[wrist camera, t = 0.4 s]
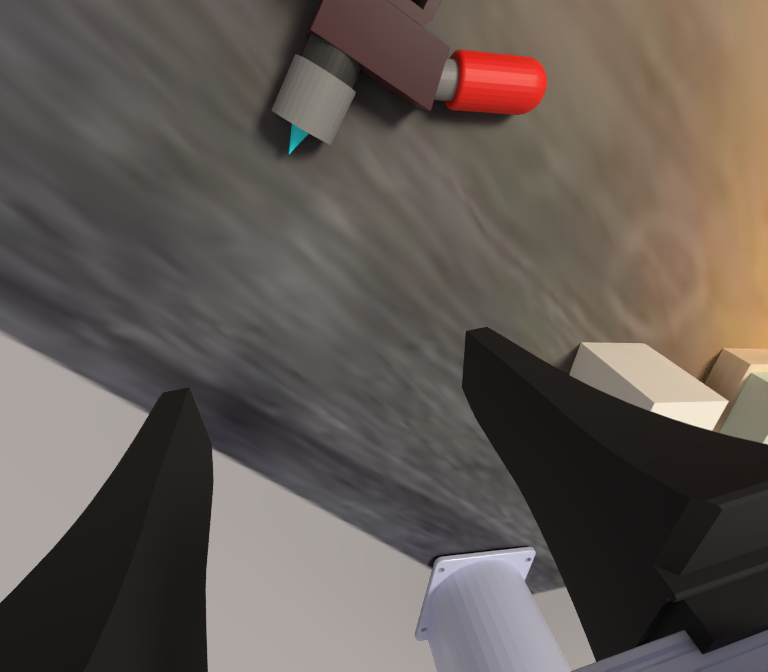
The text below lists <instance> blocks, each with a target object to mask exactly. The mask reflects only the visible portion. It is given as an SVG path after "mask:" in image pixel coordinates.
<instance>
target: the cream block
mask: <svg viewBox="0 0 768 672" xmlns="http://www.w3.org/2000/svg"><path fill="white" fill-rule="evenodd" d="M569 375H570V376H572V377H574V378H576V379H578V380H580V381H582V382H584V383H586V384H588V385H590V386H592V387H594V388H596V389H598V390H600V391H602V392H605V393H607V394H609V395H612V396H614V397H616V398H618V399H621V400H623V401H625V402H628V403H630V404H633V405H635V406H638V407H641V408H643V409H646V410H649V411H651V412H654V413H657V414H660V415H663V416H666V417H668V418H671V419H674V420H677V421H681V422H684V423H687V424H690V425H693V426H697V427H700V428H704V429H707V430H711V431H712V430H713V428H714V427H715V425H716V423H717V421H718V420H719V418H720V416H721V414H722V412H723V411H724V409H725V407H726V405H727V404H728V402H729V401H728V400H727V399H725V398H724V397H722V396H721V395H719V394H718V393H716V392H715V391H713V390H712V389H710V388H709V387H708V386H706V385H705V384H703V383H702V382H700V381H699V380H697V379H696V378H694V377H693V376H691V375H690V374H689V373H687V372H686V371H684V370H683V369H681V368H680V367H678V366H677V365H675V364H674V363H672V362H671V361H669V360H668V359H667V358H665V357H664V356H662V355H661V354H659V353H658V352H656V351H655V350H653V349H652V348H650V347H649V346H648V345H646V344H641V343H581V344H580V347H579V349H578V352H577V355H576V358H575V360H574V363H573V366H572V368H571V371H570V374H569Z"/></svg>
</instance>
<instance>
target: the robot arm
mask: <svg viewBox="0 0 768 672" xmlns="http://www.w3.org/2000/svg"><path fill="white" fill-rule="evenodd" d="M462 389H463V391H464V393H465V396H466V398H467V400H468V403H469V405H470V407H471V409H472V411H473V413H474V416H475V418H476V419H477V421H478V423H479V424H480V426H481V428H482V429H483V431H484V433H485V434H486V436H487V437H488V439H489V441H490V442H491V444H492V445H493V447H494V449H495V450H496V452H497V453H498V455H499V457H500V458H501V460H502V461H503V463H504V465H505V466H506V468H507V469H508V471H509V473H510V474H511V476H512V477H513V479H514V480H515V482H516V484H517V485H518V487H519V489H520V491H521V492H522V494H523V496H524V498H525V500H526V502H527V504H528V506H529V508H530V510H531V512H532V514H533V516H534V518H535V520H536V522H537V524H538V526H539V528H540V530H541V532H542V535H543V537H544V539H545V541H546V543H547V545H548V547H549V550H550V552H551V554H552V556H553V558H554V560H555V563H556V565H557V567H558V569H559V572H560V574H561V576H562V579H563V581H564V583H565V586H566V588H567V590H568V593H569V595H570V597H571V600H572V602H573V604H574V607H575V609H576V611H577V614H578V617H579V619H580V622H581V624H582V627H583V629H584V631H585V634H586V636H587V639H588V642H589V644H590V647H591V649H592V652H593V654H594V657H595V660H596V662H595V663H593V664H590V665H587V666H585V667H582V668H579V669H576V670H573V671H571V669H570V667H569V665H568V664H567V661H566V659H565V658H564V656H563V654H562V652H561V650H560V648H559V646H558V644H557V642H556V640H555V639H554V637H553V635H552V633H551V631H550V629H549V627H548V625H547V623H546V621H545V619H544V617H543V615H542V614H541V612H540V610H539V608H538V606H537V604H536V602H535V600H534V598H533V596H532V594H531V592H530V591H529V589H528V587H527V585H526V583H525V578H526V576H527V573H528V571H529V568H530V566H531V564H532V561H533V559H534V556H535V553H536V552H535V550H534V549H533V548H532V547H523V548H514V549H505V550H496V551H487V552H478V553H469V554H460V555H451V556H442V557H439V558H437V559H436V560H435V562H434V565H433V569H432V573H431V576H430V580H429V584H428V588H427V591H426V595H425V598H424V602H423V606H422V609H421V614H420V617H419V621H418V624H417V628H416V632H415V637H416V639H417V640H419V641H422V640H428V641H429V644H430V648H431V651H432V654H433V658H434V662H435V665H436V668H437V672H768V444H764V443H759V442H755V441H751V440H746V439H742V438H738V437H733V436H729V435H725V434H722V433H718V432H714V431H711V430H707V429H704V428H700V427H697V426H693V425H690V424H687V423H684V422H681V421H677V420H674V419H671V418H668V417H666V416H663V415H660V414H657V413H654V412H651V411H649V410H646V409H643V408H641V407H638V406H635V405H633V404H630V403H628V402H625V401H623V400H621V399H618V398H616V397H614V396H612V395H609V394H607V393H605V392H602V391H600V390H598V389H596V388H594V387H592V386H590V385H588V384H586V383H584V382H582V381H580V380H578V379H576V378H574V377H572V376H570V375H568V374H566V373H564V372H563V371H561V370H559V369H557V368H555V367H554V366H552V365H550V364H548V363H547V362H545V361H543V360H541V359H540V358H538V357H536V356H535V355H533V354H531V353H530V352H528V351H526V350H525V349H523V348H521V347H520V346H518V345H516V344H515V343H513V342H512V341H510V340H508V339H507V338H505V337H503V336H502V335H500V334H498V333H497V332H495V331H493V330H491V329H490V328H488V327H484V328H479V329H474V330H469V331H466V338H465V352H464V366H463V379H462ZM212 461H213V460H212V444H211V441H210V439H209V436H208V434H207V431H206V429H205V426H204V424H203V421H202V419H201V416H200V414H199V411H198V409H197V406H196V403H195V401H194V398H193V396H192V393H191V391H190V388H184V389H179V390H174V391H169V392H164V393H162V395H161V396H160V397H159V399H158V401H157V402H156V404H155V406H154V407H153V409H152V411H151V412H150V414H149V416H148V417H147V419H146V421H145V422H144V424H143V426H142V427H141V429H140V431H139V432H138V434H137V436H136V437H135V439H134V440H133V442H132V443H131V445H130V447H129V448H128V450H127V451H126V453H125V454H124V456H123V457H122V459H121V460H120V462H119V463H118V465H117V466H116V468H115V469H114V471H113V472H112V474H111V475H110V476H109V478H108V479H107V481H106V482H105V483H104V485H103V486H102V488H101V489H100V490H99V492H98V493H97V494H96V496H95V497H94V499H93V500H92V501H91V503H90V504H89V505H88V507H87V508H86V509H85V510H84V512H83V513H82V514H81V515H80V517H79V518H78V519H77V521H76V522H75V523H74V524H73V525H72V527H71V528H70V529H69V530H68V531H67V532H66V534H65V535H64V536H63V537H62V538H61V540H60V541H59V542H58V543H57V544H56V545H55V546H54V548H53V549H52V550H51V551H50V552H49V553H48V554H47V555H46V556H45V557H44V558H43V559H42V560H41V561H40V563H39V564H38V565H37V566H36V567H35V568H34V569H33V570H32V571H31V572H30V573H29V574H28V575H27V576H26V577H25V578H24V579H23V580H22V581H21V583H20V584H19V585H18V586H17V587H16V588H15V589H14V590H13V591H12V592H11V593H10V594H9V595H8V596H7V597H6V598H5V599H4V600H3V601H2V602H1V603H0V672H208V665H207V638H206V637H207V636H206V591H205V589H206V566H207V555H208V542H209V531H210V518H211V506H212V494H213V462H212Z"/></svg>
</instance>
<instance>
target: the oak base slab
mask: <svg viewBox="0 0 768 672" xmlns="http://www.w3.org/2000/svg"><path fill="white" fill-rule="evenodd" d="M755 372H768V349H733V348H723V350H722V352H721V353H720V355H719V357H718V359H717V361H716V363H715V365H714V367H713V369H712V371H711V373H710V374H709V376H708V378H707V380H706V382H705V385H706V386H708V387H709V388H710V389H712V390H713V391H715V392H716V393H718V394H719V395H721V396H722V397H724V398H725V399H727V400H728V401H729V402H728V404H727V405H726V407H725V409H724V411H723V412H722V414H721V416H720V418H719V420H718V421H717V423H716V425H715V427H714V428H713V430H712V431H714V432H718V433H719V432H720V430H721V428H722V427H723V425H724V423H725V421H726V419H727V417H728V415H729V414H730V412H731V410H732V408H733V406H734V404H735V402H736V401H737V399H738V397H739V395H740V393H741V391H742V390H743V388H744V386H745V384H746V382H747V380H748V378H749V377H750V375H751V373H755Z"/></svg>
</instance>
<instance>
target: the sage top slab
mask: <svg viewBox="0 0 768 672" xmlns="http://www.w3.org/2000/svg"><path fill="white" fill-rule="evenodd" d="M719 433H722V434H725V435H729V436H733V437H738V438H742V439H746V440H751V441H755V442H759V443H764V444H768V372H755V373H751V375H750V377H749V378H748V380H747V382H746V384H745V386H744V388H743V390H742V391H741V393H740V395H739V397H738V399H737V401H736V402H735V404H734V406H733V408H732V410H731V412H730V414H729V415H728V417H727V419H726V421H725V423H724V425H723V427H722V428H721V430H720V432H719Z"/></svg>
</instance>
